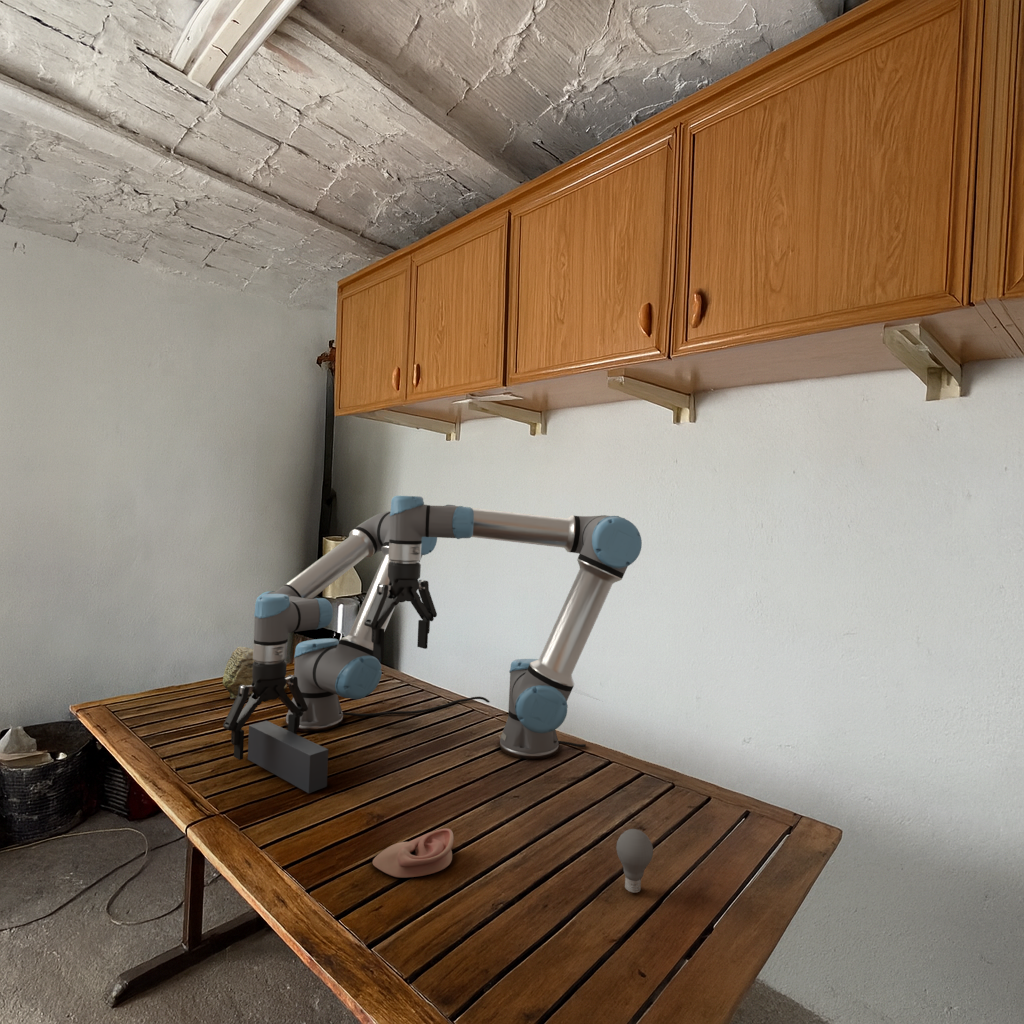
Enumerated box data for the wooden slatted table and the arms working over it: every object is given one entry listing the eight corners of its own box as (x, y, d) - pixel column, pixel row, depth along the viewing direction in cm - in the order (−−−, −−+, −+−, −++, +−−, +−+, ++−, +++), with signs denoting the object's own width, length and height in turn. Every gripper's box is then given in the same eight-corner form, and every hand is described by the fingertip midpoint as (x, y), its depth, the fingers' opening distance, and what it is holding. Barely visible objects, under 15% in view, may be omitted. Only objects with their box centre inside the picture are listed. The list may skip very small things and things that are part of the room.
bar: (247, 759, 151) (248, 725, 150) (265, 753, 154) (266, 720, 154) (308, 793, 135) (310, 755, 135) (327, 786, 139) (328, 749, 138)
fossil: (218, 695, 195) (220, 647, 195) (278, 685, 208) (279, 640, 207) (228, 703, 189) (230, 653, 188) (289, 692, 201) (290, 645, 201)
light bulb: (610, 879, 108) (613, 822, 108) (644, 879, 109) (647, 822, 109) (619, 902, 102) (622, 840, 102) (655, 901, 103) (658, 840, 103)
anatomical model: (365, 849, 107) (391, 816, 119) (364, 872, 107) (390, 837, 119) (440, 861, 105) (459, 827, 116) (439, 885, 105) (459, 848, 116)
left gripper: (226, 672, 137) (222, 770, 138) (324, 655, 157) (320, 740, 157) (209, 666, 142) (205, 760, 142) (307, 649, 161) (303, 732, 162)
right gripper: (372, 566, 136) (368, 664, 136) (453, 560, 155) (449, 646, 156) (350, 562, 140) (346, 657, 141) (432, 557, 160) (428, 641, 160)
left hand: (266, 749), depth 150 cm, fingers open, 13 cm apart
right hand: (400, 652), depth 148 cm, fingers open, 13 cm apart
